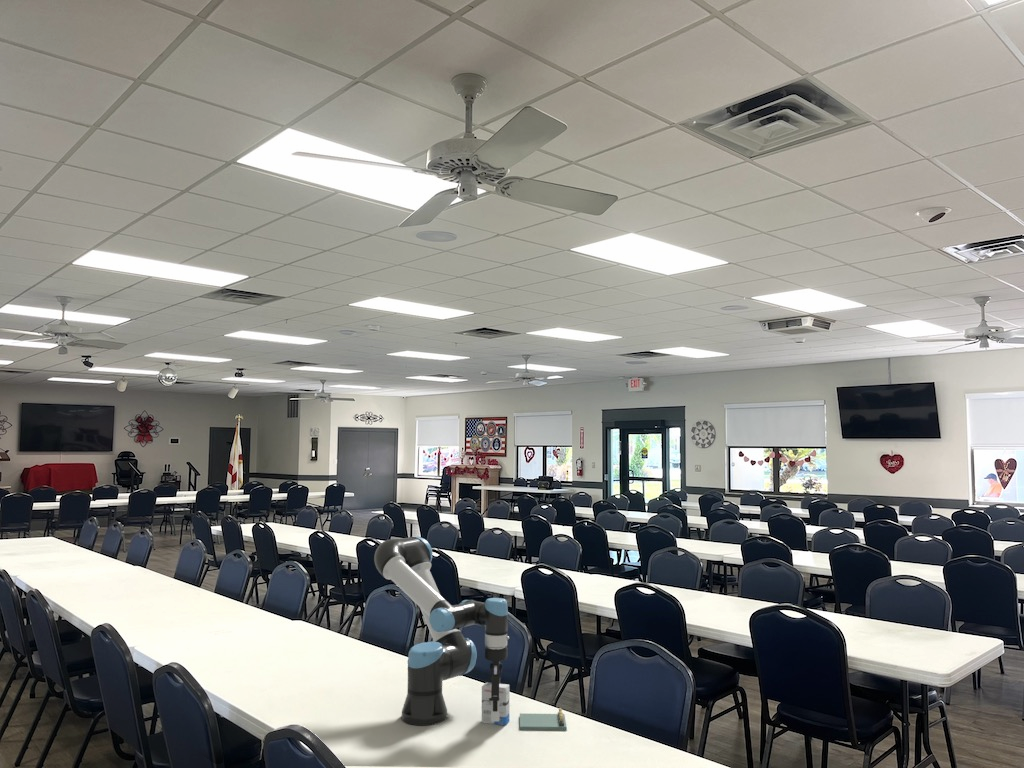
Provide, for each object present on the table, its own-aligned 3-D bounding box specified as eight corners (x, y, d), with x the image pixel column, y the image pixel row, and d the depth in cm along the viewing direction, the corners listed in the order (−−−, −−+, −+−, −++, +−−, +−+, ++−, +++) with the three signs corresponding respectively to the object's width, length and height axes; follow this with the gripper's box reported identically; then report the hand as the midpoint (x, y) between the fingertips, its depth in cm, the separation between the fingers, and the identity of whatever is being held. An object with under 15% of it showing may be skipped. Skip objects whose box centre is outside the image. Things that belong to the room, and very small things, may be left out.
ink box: (510, 720, 239) (510, 683, 241) (505, 725, 235) (506, 688, 236) (485, 717, 242) (486, 681, 243) (481, 723, 237) (481, 685, 238)
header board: (519, 729, 231) (519, 718, 231) (519, 716, 243) (519, 705, 243) (566, 730, 231) (566, 718, 231) (564, 717, 243) (564, 705, 243)
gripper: (506, 656, 229) (506, 727, 226) (508, 637, 253) (507, 702, 250) (483, 656, 229) (482, 727, 226) (486, 637, 253) (486, 702, 250)
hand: (495, 714), depth 238 cm, fingers open, 12 cm apart
